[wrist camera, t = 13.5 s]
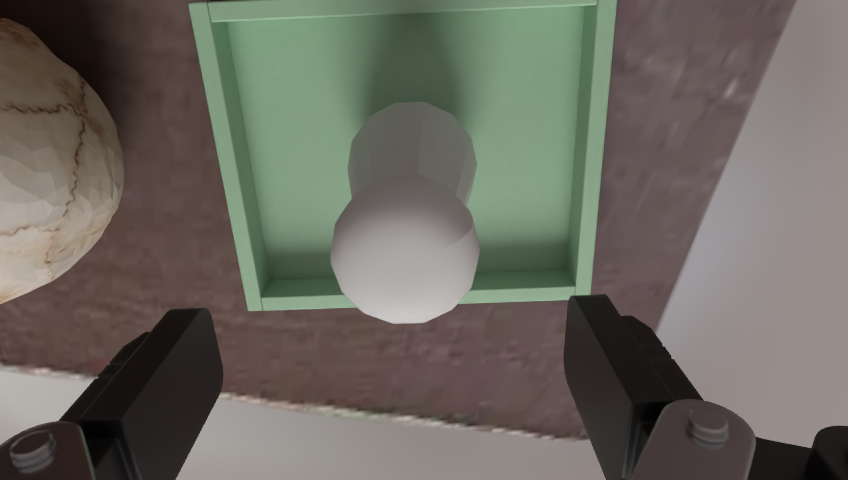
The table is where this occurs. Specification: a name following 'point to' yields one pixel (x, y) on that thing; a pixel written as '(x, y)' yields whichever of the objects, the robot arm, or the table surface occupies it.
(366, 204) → the salt shaker
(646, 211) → the table surface
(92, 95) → the coin bank
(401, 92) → the tray
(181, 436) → the robot arm
